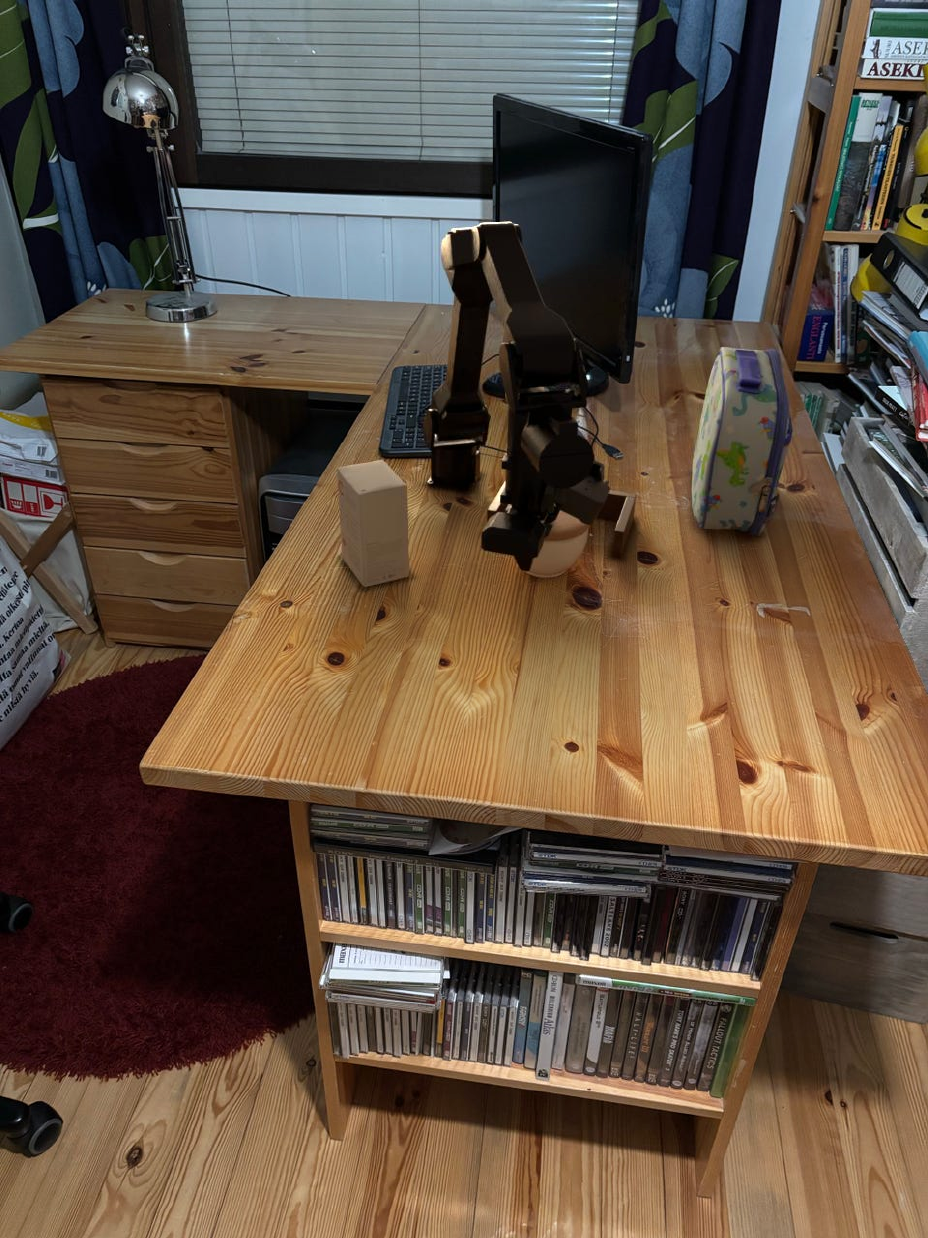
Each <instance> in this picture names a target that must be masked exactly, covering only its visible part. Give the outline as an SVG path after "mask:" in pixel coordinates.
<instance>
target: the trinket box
mask: <svg viewBox="0 0 928 1238" xmlns="http://www.w3.org/2000/svg"><path fill="white" fill-rule="evenodd" d="M554 506H555V503H554ZM551 524H552V525H553V527H552V529H551V531H550V533H549V535H548V536H547V537H546V538H545V539H544V544H543V547H542V549H541V551H540V553H539V555H538V557H537V558H534V560H533V563H532V566H531V569H530V571H524V573H526V574H528V575H530V576H533V577H535V578H542V579H551V578H556V577H559V576H562V575H563V574H564V573H566V572H567V570H569V569H570V568H571V567H573V566H574V565H575V564H576V563H577V562H578V561H579V559H580V558H581V557H582V554H583V553H584V550H585V548H586V545H587V541H588V537H589V536H588V535H589V529H590V525H586V524H584V523H582V522H580V521H579V519H577V518H575V517H573V516H571V515H569V514H567V513H565V512H563V511H561V510H560V512H559V514H558V516H557V518H556V520H555V521H553V522H552V523H551ZM511 557H512V559H513V560H514V562H516V560H515V558H514V556H511Z"/></svg>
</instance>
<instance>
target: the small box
mask: <svg viewBox="0 0 928 1238" xmlns="http://www.w3.org/2000/svg"><path fill="white" fill-rule="evenodd" d="M336 479H337V493H338V494H337V495H338V496H337V497H338V508H339V510H338V511H339V525H340V527H339V528H340V542H341V543H340V544H341V558H342V560H343V561H344V562H345V564H346V565H347V567H348V568H349V569H350V570H351V572H352V573H353V575H354V576H355V578H356V579H357V580H358V582H359V583H360V584H361V585H362V587H363V588H368V587H371V586H376V585H380V584H385V583H389V582H393V581H397V580H400V579H404V578H408V577H410V556H409V555H410V554H409V517H408V516H409V515H408V514H409V511H408V508H409V507H408V484H407V483H405V481H404V480H403V479H402V478H401V477H400V476H399V475H398V474H397V473H396V472H395V471H394V469H392V467H390V465H388V464H387V462H386V461H384V459H378V460H373V461H368V462H361V463H356V464H349V465H345V466H339V467H337V468H336Z"/></svg>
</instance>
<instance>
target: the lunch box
mask: <svg viewBox="0 0 928 1238" xmlns="http://www.w3.org/2000/svg"><path fill="white" fill-rule="evenodd" d="M703 399H704V400H703V406H702V409H701V415H700V420H699V424H698V430H697V436H696V442H695V446H694V453H693V460H692V472H691V478H692V479H691V508H692V512H693V516H694V518H695V521H696V523H697V526H698V527H699V528H700V529H703V530H731V531H732V530H737V531H740V532H747V533H748V534H749V535H751V536H754V537H757V536H758V537H760V536H761V534H762V532H763V530H764V529H765V527H766V525H767V524H769V523H772V522H773V521H774V517H775V514H776V510H777V507H778V503H779V498H780V494H776V493H777V490H778V486H779V483H780V479H781V476H782V472H783V469H784V466H785V461H786V458H787V455H788V450H789V446H790V444H791V442H792V435H793V431H794V429H793V424H792V419H791V413H790V401H789V400H790V399H789V396H788V391H787V388H786V384H785V379H784V373H783V366H782V357H781V353H780V352H779V351H778V350H777V349H775V348H769V349H766V350H764V349H744V348H736V347H735V348H734V347H727V346H722V347H720V348H719V351H718V354H717V355H716V358H715V360H714V363H713V366H712V368H711V372H710V375H709V379H708V383H707V386H706V391H705V394H704V398H703Z"/></svg>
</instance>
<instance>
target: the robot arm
mask: <svg viewBox="0 0 928 1238" xmlns="http://www.w3.org/2000/svg"><path fill="white" fill-rule="evenodd" d="M440 258H441V266H442V269H443V270H444V272H445V276H446V278H447V280H448V283H449V286H450V289H451V291H452V293H453V294H454V295H453V306H452V316H451V324H450V325H451V326H450V334H449V335H450V336H449V344H448V354H447V364H446V374H445V380H444V381H443V382H442V383H441V385H439V386H438V387H437V389H436V390H435V391H434V392H433V393H432V397H431V404H430V409H427V411H426V414H425V416H424V419H423V422H422V436H423V437H422V438H423V441H424V442H425V444H426V446H427V448H428V450H429V452H430V477H429V479H428V480H427V482H426V484H427V486H429V487H434V488H435V487H437V488H441V489H442V488H443V489H447V490H456V491H461V492H468V491H470V490H471V488H472V487H473V486H474V484H475V483H476V482H477V481H478V480H479V478H480V476H481V451H480V450H478V447H479V446H481V447H484V446H486V444H487V441H488V436H489V429H490V424H491V420H492V415H491V413H489V409H488V406H487V405H486V403H485V400H484V397H483V395H482V393H481V392H482V391H481V389H480V382H481V374H482V367H483V360H484V353H485V352H484V351H485V345H486V339H487V331H488V324H489V317H490V309H491V304H492V302H494V305H495V308H496V310H497V314H498V317H499V319H500V322H501V325H502V328H503V333H502V334H503V335H502V339H501V344H500V346H499V350H498V368H499V373H500V376H501V380H502V381H501V382H502V386H503V389H504V392H505V393H506V397H507V401H508V403H507V405H508V420H507V436H506V437H507V439H506V440H507V441H506V452H505V455H504V456H503V458H502V459H501V464H500V465H501V466H500V468H501V470H504V471H505V480H504V482H505V488H504V489H503V491H502V493H501V494H500V503H504V504H508V506H507V508H506V510H505V513H503V512H498V513H496V514H495V515H494V516H492V517H491V518H490V519H489V521H488V522H487V521H486V524H485V526H484V527H483V529H482V530H481V533H480V534H481V535H480V536H481V537H480V538H481V539H480V548H481V550H483V551H484V552H488V553H494V554H499V555H505V556H511V557H512V556H514V558H515V560H516V561H515V560H514V561H515V563H516V564H517V566H518V568H519V570H520V571H522V572H525V571H530V569H531V566H532V563H533V560H534V558H537V557H538V555H539V553H540V551H541V549H542V547H543V544H544V539H545V538H546V537H547V536H548V535H549V533H550V531H551V529H552V527H553V525H552V524H551V523H552V522H553V521H555V520H556V518H557V516H558V514H559V512H560V510H561V511H563V512H565V513H567V514H569V515H571V516H573V517H575V518H577V519H579V521H580V522H582V523H584V524H586V525H589V526H592V525H593V524H594V522H596V519H597V518H598V517H597V515H598V514H599V512H600V510H601V508H602V506H603V505H604V503H605V501H606V498H607V496H608V493H609V491H610V490H611V488H610V486H609V483H610V481H609V480H607V479H605V464H603V463H602V462H599V461H598V460H597V459H595V453H594V449H593V447H592V444H591V443H590V442H589V440H588V439H587V437H585V435H584V434H583V433H582V432H581V431H580V430H579V422H578V421H577V420H576V419H575V417H573V409H583V408H584V409H585V408H587V407H588V401H587V393H588V391H589V390H590V386H589V381H588V376H587V373H586V368H585V367H586V366H585V362H584V358H583V353H582V350H581V349H580V345H579V341H578V340H577V338H574V335H573V333H572V331H571V329H570V328H569V326H568V324H567V322H566V321H565V318H564V317H563V316H561V315H559V314H558V313H556V312H555V311H553V310H552V309H549V308H548V307H547V306H546V304H545V302H544V299H543V297H542V295H541V292H540V289H539V287H538V284H537V282H536V278H535V276H534V274H533V271H532V269H531V266H530V263H529V261H528V258H527V256H526V253H525V250H524V247H523V236H522V229H521V226H520V225H519V224H518V223H517V224H516V223H513V222H512V221H500V222H498V221H497V222H480V223H479V224H478V225H474V226H471V227H459V228H458V227H457V228H451V230H448V231H447V232H446V235H445V237H444V238H443V239H442V240H441V244H440ZM568 384H569V385H570V388H568V389H557V390H556V389H555V390H550V389H549V387H559V386H560V387H561V386H566V385H568ZM505 393H504V394H505ZM507 401H506V402H507ZM554 503H555V506H554Z"/></svg>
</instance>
